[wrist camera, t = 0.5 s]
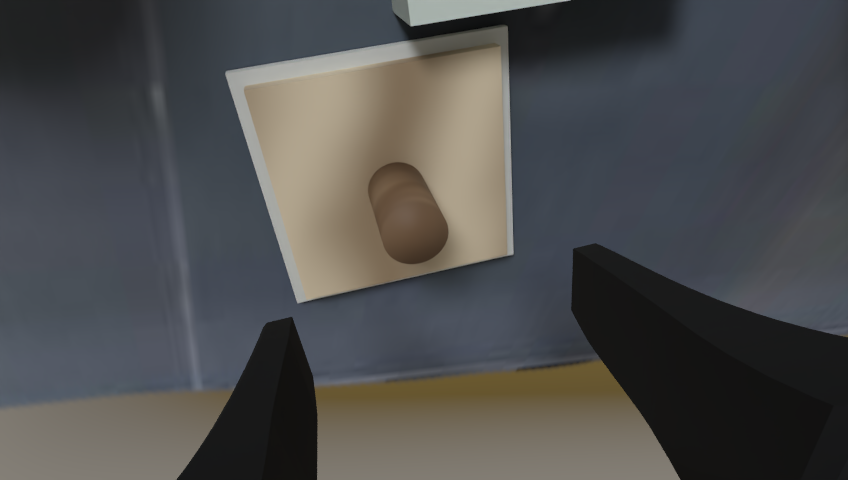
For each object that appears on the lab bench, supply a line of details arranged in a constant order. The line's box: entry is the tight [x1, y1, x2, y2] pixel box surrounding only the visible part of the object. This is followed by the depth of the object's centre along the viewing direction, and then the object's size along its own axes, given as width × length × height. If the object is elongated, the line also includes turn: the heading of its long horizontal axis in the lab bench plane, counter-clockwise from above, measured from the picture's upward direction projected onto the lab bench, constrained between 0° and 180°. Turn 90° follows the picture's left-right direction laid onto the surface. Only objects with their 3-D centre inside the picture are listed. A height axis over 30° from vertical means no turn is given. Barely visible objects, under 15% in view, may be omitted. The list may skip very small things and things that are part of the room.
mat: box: [225, 25, 513, 303], centre depth 21 cm, size 10×10×1 cm
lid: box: [244, 43, 507, 300], centre depth 19 cm, size 9×9×5 cm
